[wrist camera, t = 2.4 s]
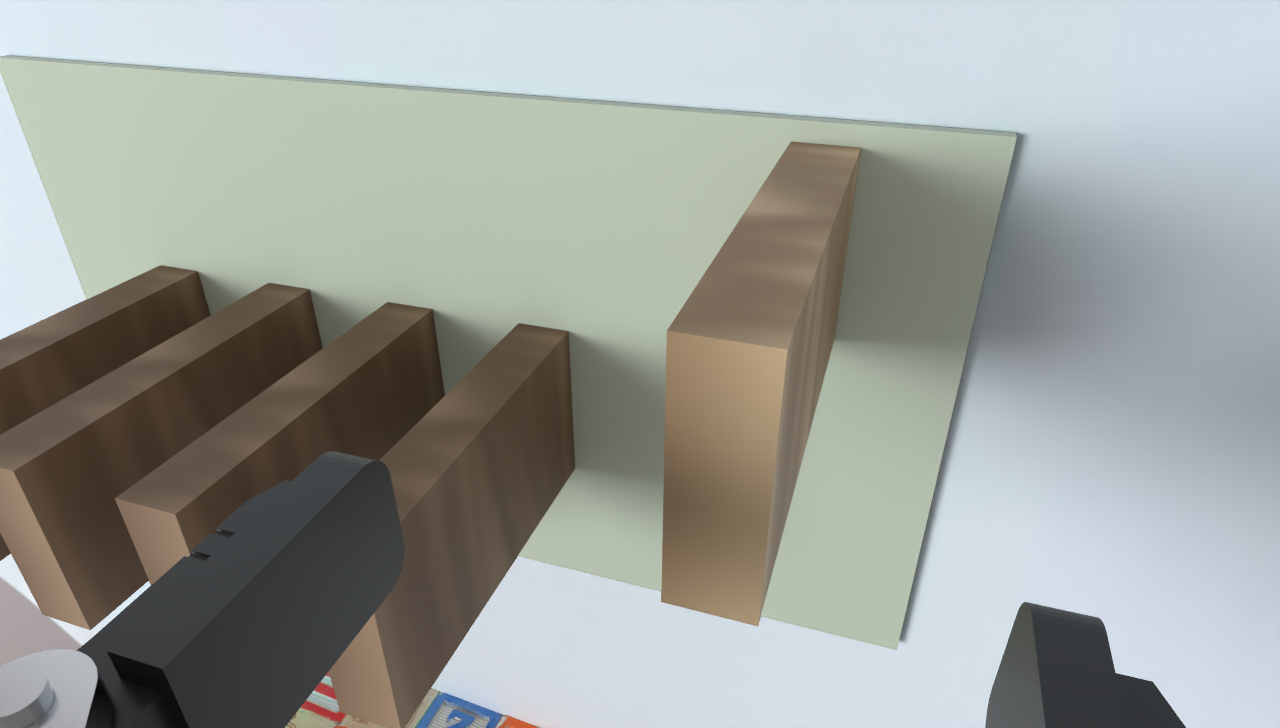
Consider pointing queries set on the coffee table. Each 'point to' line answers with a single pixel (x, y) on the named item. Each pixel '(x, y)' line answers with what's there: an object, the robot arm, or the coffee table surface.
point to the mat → (554, 271)
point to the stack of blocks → (436, 724)
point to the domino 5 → (751, 382)
